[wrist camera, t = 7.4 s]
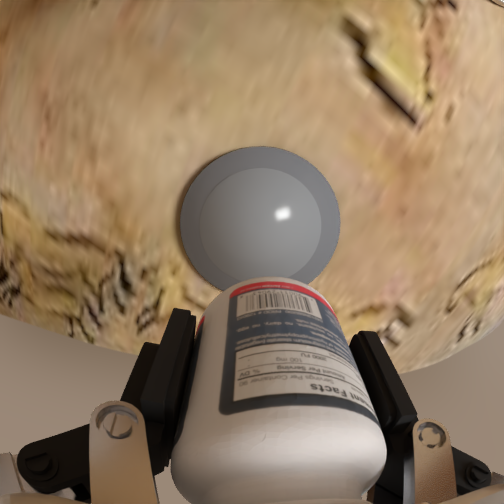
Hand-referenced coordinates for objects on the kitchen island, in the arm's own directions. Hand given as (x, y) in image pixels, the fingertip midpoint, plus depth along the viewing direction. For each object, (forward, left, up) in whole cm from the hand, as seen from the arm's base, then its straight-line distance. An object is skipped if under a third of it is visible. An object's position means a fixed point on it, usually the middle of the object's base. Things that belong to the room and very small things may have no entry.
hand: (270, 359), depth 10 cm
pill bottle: (0, 0, -2) cm, 2 cm away
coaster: (0, 0, -14) cm, 14 cm away
